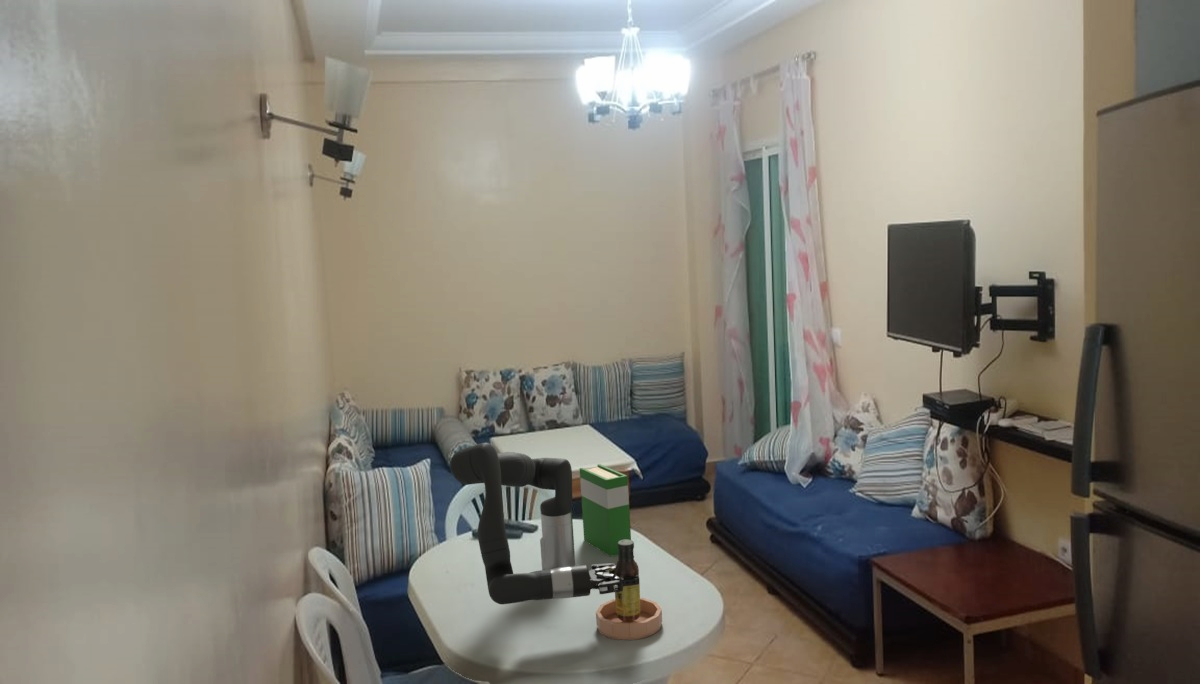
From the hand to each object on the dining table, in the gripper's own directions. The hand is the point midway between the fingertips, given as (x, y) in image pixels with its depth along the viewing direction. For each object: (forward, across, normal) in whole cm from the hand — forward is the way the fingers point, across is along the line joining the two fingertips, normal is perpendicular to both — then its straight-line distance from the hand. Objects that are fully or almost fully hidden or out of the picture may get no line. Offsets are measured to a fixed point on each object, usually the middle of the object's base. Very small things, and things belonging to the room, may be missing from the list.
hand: (635, 574), depth 225 cm
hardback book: (+2, +58, +14) cm, 60 cm away
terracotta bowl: (-2, 0, +13) cm, 13 cm away
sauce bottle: (-2, 0, +11) cm, 11 cm away
